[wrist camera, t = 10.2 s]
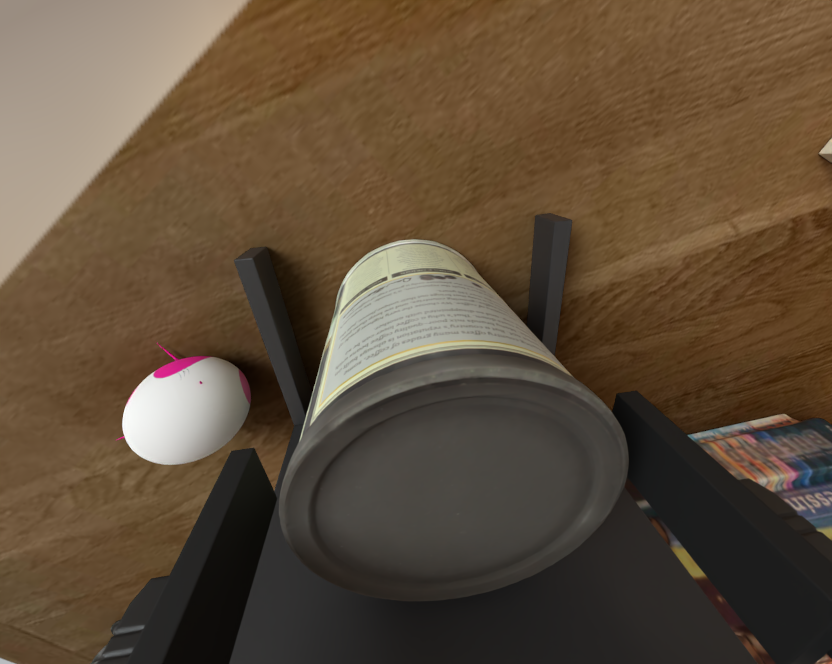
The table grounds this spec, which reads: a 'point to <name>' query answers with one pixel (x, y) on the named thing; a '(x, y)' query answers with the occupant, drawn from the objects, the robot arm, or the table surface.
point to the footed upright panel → (495, 610)
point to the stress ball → (186, 410)
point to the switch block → (827, 151)
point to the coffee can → (442, 439)
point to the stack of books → (773, 469)
